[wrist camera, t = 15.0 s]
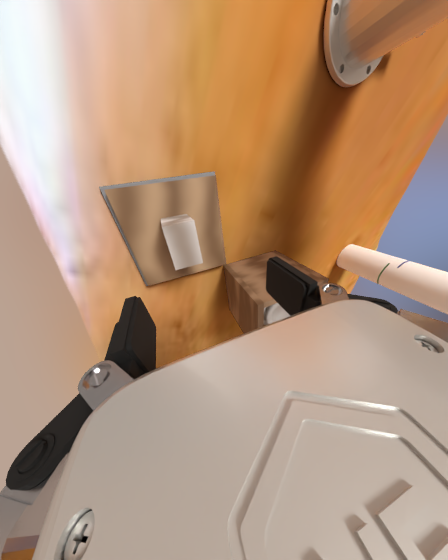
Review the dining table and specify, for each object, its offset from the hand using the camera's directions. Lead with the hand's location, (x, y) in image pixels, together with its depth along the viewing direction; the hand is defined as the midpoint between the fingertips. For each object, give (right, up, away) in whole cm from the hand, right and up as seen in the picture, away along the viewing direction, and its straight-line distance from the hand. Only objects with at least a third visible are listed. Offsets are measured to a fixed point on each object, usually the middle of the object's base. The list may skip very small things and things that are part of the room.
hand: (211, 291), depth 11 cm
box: (+8, 0, +27) cm, 28 cm away
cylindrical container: (+37, +8, +36) cm, 53 cm away
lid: (-7, +9, +15) cm, 19 cm away
